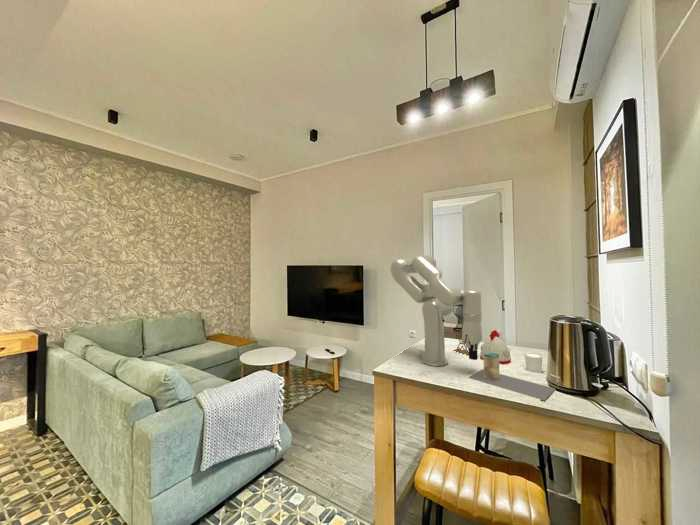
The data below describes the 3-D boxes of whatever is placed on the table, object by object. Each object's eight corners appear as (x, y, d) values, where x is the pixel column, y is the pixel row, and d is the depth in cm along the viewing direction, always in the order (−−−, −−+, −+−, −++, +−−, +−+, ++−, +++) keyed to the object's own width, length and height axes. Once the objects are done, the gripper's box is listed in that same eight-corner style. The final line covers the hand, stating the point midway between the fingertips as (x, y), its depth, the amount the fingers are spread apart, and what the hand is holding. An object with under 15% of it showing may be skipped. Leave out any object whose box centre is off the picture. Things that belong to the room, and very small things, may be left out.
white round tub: (530, 367, 135) (530, 352, 135) (546, 372, 128) (545, 356, 129) (521, 369, 132) (521, 354, 132) (536, 374, 126) (536, 358, 126)
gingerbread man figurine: (471, 354, 155) (471, 332, 155) (467, 355, 153) (467, 333, 153) (457, 350, 163) (457, 329, 163) (453, 351, 160) (452, 330, 160)
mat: (467, 378, 122) (467, 377, 122) (482, 370, 132) (482, 369, 132) (544, 401, 101) (544, 400, 101) (555, 389, 111) (555, 388, 111)
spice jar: (483, 377, 122) (483, 354, 122) (488, 374, 125) (488, 351, 125) (494, 380, 119) (494, 356, 119) (499, 377, 122) (498, 354, 122)
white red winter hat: (474, 359, 147) (474, 330, 147) (488, 353, 155) (488, 326, 155) (502, 366, 136) (502, 335, 136) (515, 360, 144) (515, 330, 144)
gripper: (471, 314, 136) (472, 353, 135) (455, 319, 126) (456, 361, 126) (488, 316, 130) (489, 357, 130) (472, 321, 120) (473, 365, 120)
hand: (473, 358), depth 128 cm, fingers closed
